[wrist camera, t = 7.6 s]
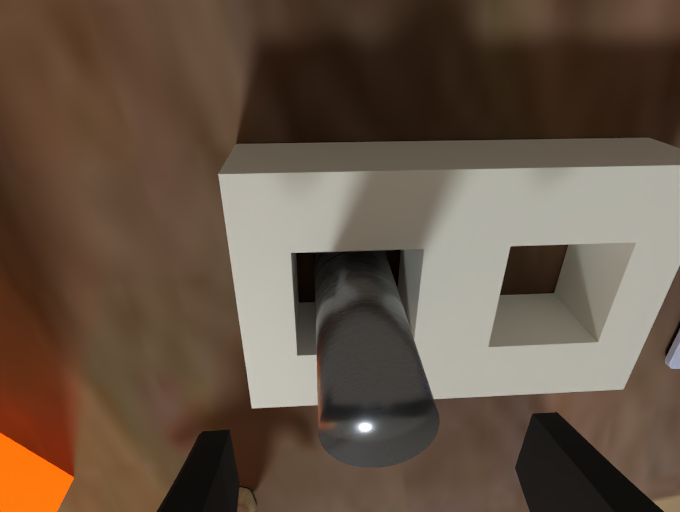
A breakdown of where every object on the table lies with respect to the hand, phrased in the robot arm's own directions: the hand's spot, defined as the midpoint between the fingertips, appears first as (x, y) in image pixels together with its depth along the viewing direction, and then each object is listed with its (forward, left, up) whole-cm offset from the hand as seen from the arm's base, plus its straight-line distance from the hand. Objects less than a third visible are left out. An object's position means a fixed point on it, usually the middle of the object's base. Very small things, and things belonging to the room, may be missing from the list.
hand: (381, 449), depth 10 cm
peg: (0, 0, -9) cm, 9 cm away
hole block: (-4, 0, -9) cm, 10 cm away
